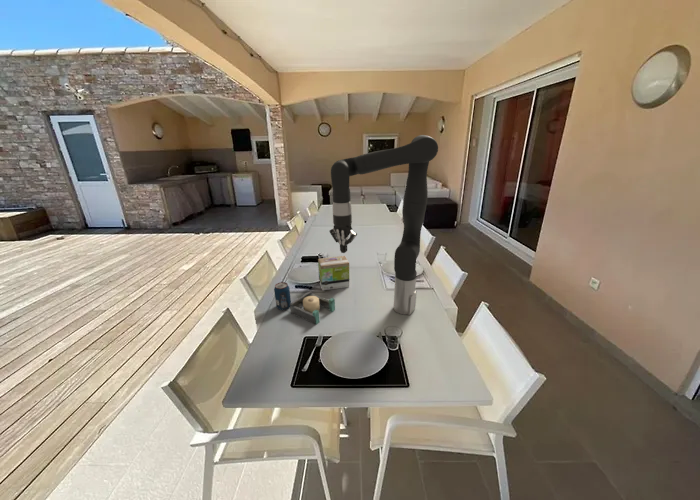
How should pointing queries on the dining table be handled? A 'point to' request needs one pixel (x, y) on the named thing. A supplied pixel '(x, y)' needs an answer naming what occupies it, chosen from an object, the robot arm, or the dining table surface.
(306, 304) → the beige round fruit
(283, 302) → the soda can
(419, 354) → the dining table surface
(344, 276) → the tea box
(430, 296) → the dining table surface
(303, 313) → the holder
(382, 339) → the dining table surface
